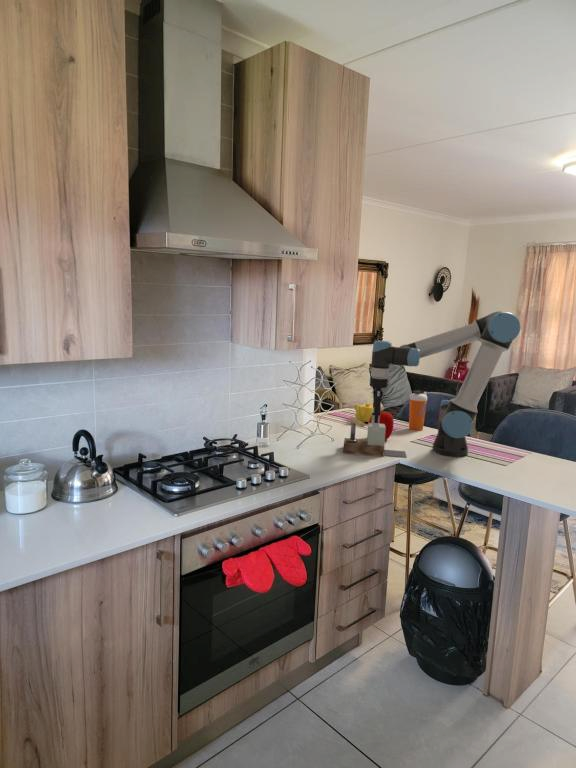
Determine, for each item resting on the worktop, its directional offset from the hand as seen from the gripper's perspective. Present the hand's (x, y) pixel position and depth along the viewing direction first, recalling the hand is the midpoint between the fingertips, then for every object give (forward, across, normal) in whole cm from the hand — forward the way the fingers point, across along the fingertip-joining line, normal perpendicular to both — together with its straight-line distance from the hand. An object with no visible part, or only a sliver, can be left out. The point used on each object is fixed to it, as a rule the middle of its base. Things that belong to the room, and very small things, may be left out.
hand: (374, 426), depth 227 cm
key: (+7, +3, -8) cm, 11 cm away
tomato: (+12, -24, +4) cm, 27 cm away
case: (+11, 0, -4) cm, 12 cm away
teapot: (+12, -60, -2) cm, 61 cm away
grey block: (+7, 0, +1) cm, 7 cm away
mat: (+11, 0, +10) cm, 15 cm away
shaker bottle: (+11, -51, +23) cm, 57 cm away
